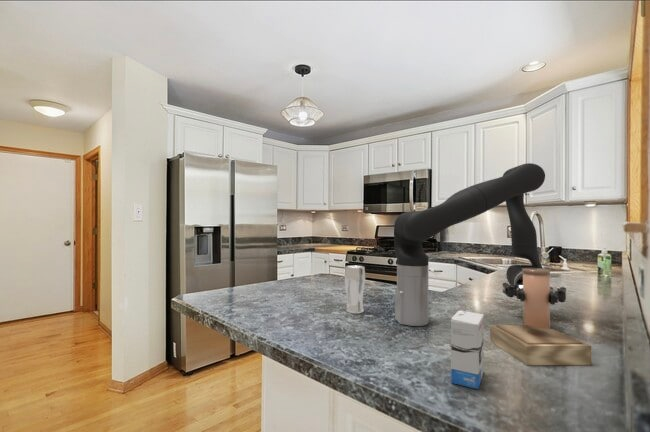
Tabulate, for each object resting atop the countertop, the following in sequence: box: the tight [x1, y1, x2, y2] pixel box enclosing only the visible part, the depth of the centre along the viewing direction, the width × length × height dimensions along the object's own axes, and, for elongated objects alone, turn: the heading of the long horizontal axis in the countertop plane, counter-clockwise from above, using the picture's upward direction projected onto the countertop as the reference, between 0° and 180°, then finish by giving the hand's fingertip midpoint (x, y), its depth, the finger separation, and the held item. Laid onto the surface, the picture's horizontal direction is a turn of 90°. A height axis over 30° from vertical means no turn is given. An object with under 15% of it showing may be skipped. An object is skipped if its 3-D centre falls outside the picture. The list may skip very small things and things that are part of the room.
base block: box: [489, 324, 592, 366], centre depth 75 cm, size 14×14×4 cm
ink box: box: [450, 310, 485, 390], centre depth 62 cm, size 8×5×12 cm, turn 148°
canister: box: [522, 268, 551, 328], centre depth 75 cm, size 5×5×13 cm
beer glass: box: [344, 264, 366, 314], centre depth 109 cm, size 7×7×15 cm
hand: (537, 298), depth 73 cm, fingers closed on canister, 5 cm apart
